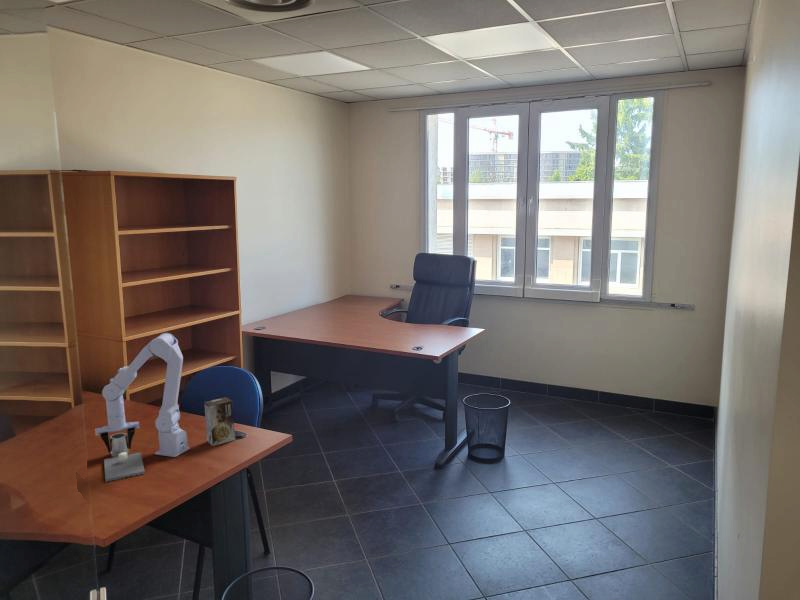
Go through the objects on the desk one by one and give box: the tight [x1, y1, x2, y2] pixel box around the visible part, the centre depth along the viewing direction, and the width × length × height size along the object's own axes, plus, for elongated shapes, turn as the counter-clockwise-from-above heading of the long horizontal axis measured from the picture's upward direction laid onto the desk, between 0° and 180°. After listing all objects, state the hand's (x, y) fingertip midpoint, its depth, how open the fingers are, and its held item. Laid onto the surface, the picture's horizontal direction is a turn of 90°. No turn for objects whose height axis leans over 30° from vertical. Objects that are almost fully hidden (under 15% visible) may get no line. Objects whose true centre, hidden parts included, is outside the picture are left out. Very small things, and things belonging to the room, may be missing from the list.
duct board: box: [103, 451, 146, 483], centre depth 203 cm, size 12×18×4 cm, turn 28°
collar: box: [109, 432, 129, 458], centre depth 214 cm, size 6×6×7 cm
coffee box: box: [203, 396, 236, 447], centre depth 224 cm, size 9×6×16 cm
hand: (119, 449), depth 215 cm, fingers open, 6 cm apart
